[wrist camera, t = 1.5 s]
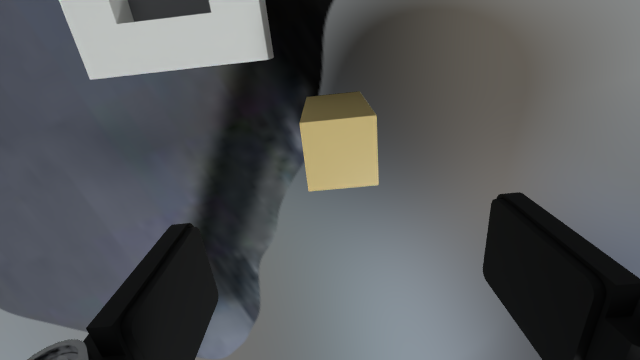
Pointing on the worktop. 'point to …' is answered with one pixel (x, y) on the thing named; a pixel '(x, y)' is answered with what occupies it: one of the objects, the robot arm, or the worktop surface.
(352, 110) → the plug block
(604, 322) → the robot arm
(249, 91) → the worktop surface
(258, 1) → the socket housing
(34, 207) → the worktop surface
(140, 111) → the worktop surface
